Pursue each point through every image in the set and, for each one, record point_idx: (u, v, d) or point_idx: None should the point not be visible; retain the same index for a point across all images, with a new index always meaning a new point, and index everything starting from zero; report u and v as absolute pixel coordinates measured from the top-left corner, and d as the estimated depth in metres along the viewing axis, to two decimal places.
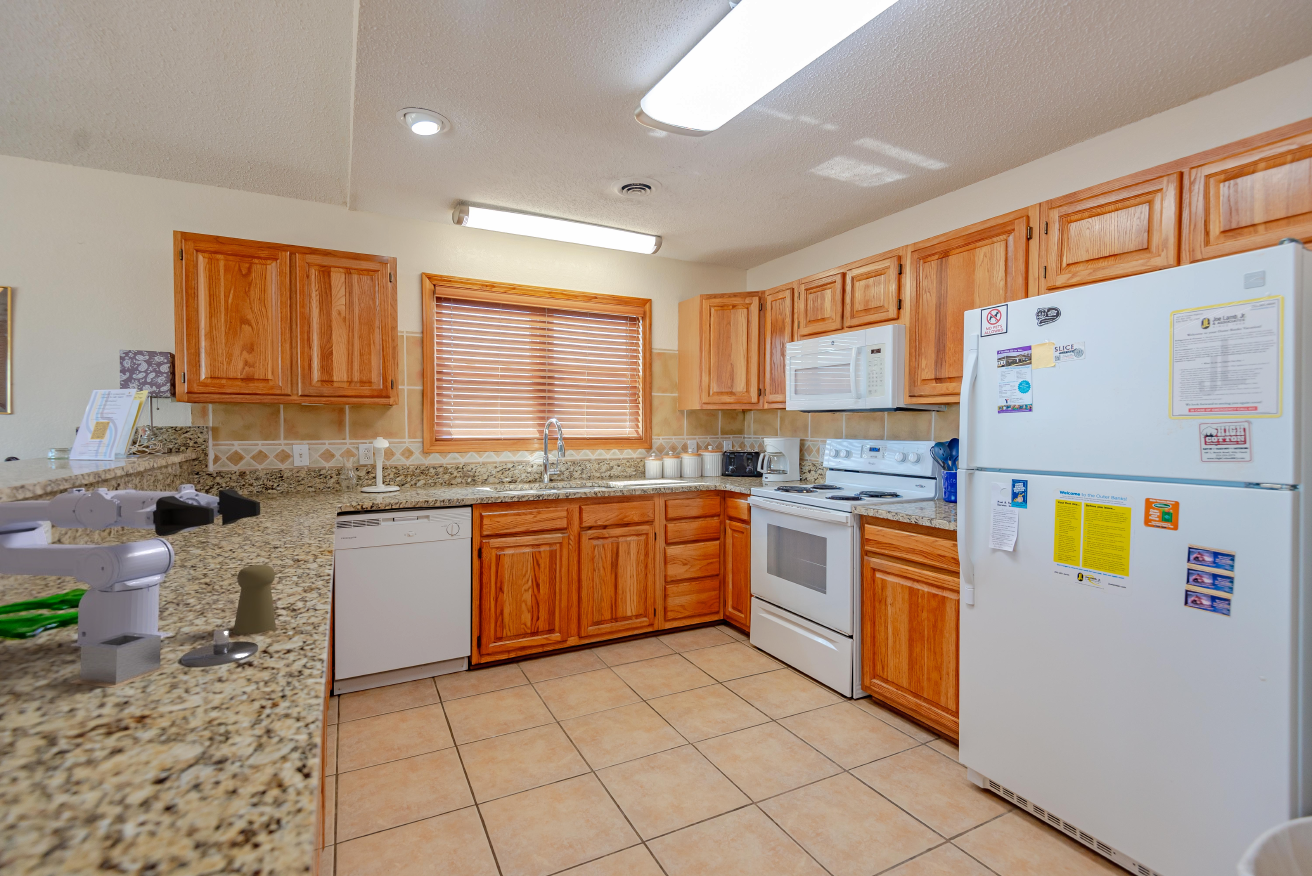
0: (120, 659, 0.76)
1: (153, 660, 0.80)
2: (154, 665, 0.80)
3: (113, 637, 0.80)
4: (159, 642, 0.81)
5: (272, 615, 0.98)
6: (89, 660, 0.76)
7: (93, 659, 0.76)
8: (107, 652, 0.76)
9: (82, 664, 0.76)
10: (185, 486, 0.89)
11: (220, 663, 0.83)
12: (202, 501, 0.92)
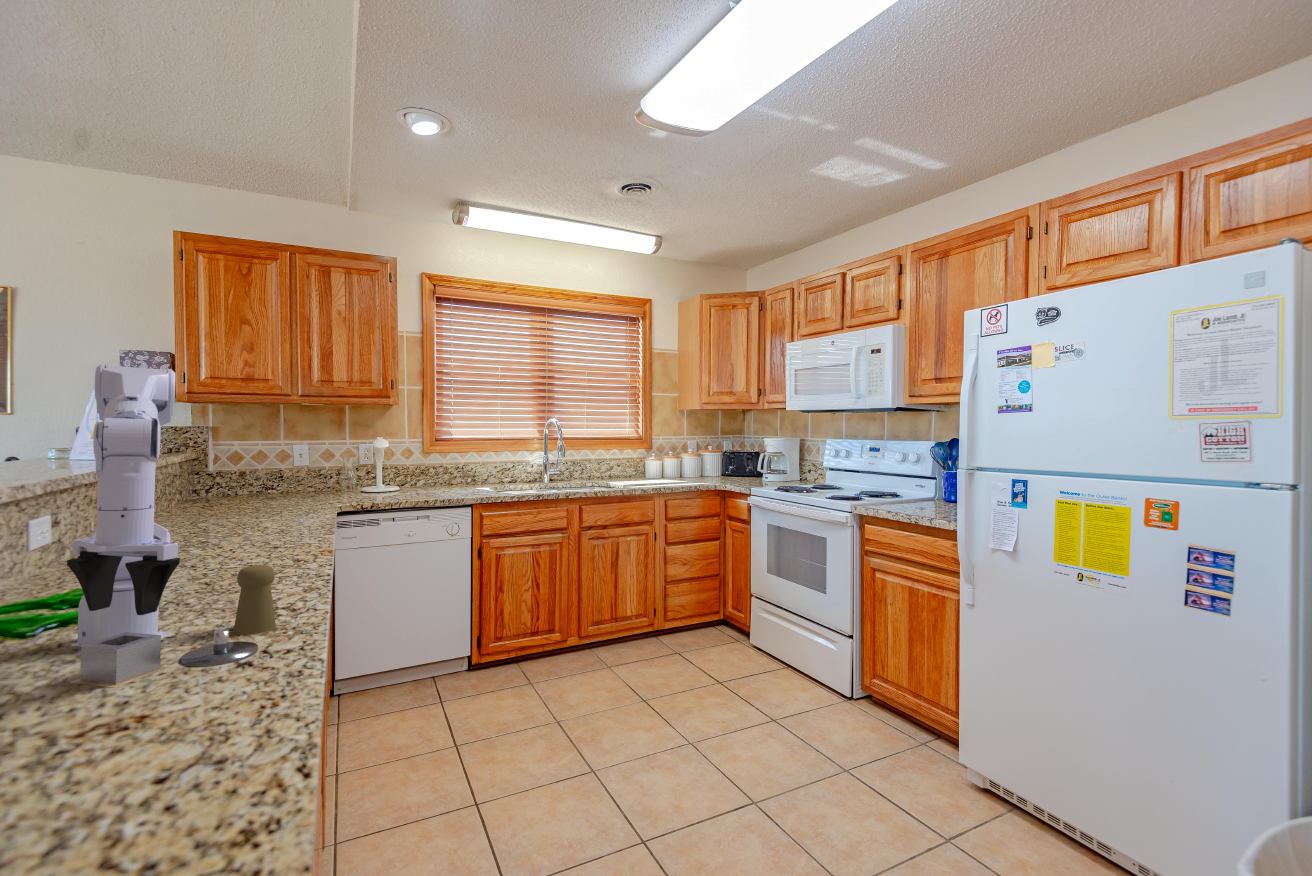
0: (120, 659, 0.76)
1: (153, 660, 0.80)
2: (154, 665, 0.80)
3: (113, 637, 0.80)
4: (159, 642, 0.81)
5: (272, 615, 0.98)
6: (89, 660, 0.76)
7: (93, 659, 0.76)
8: (107, 652, 0.76)
9: (82, 664, 0.76)
10: None
11: (220, 663, 0.83)
12: None
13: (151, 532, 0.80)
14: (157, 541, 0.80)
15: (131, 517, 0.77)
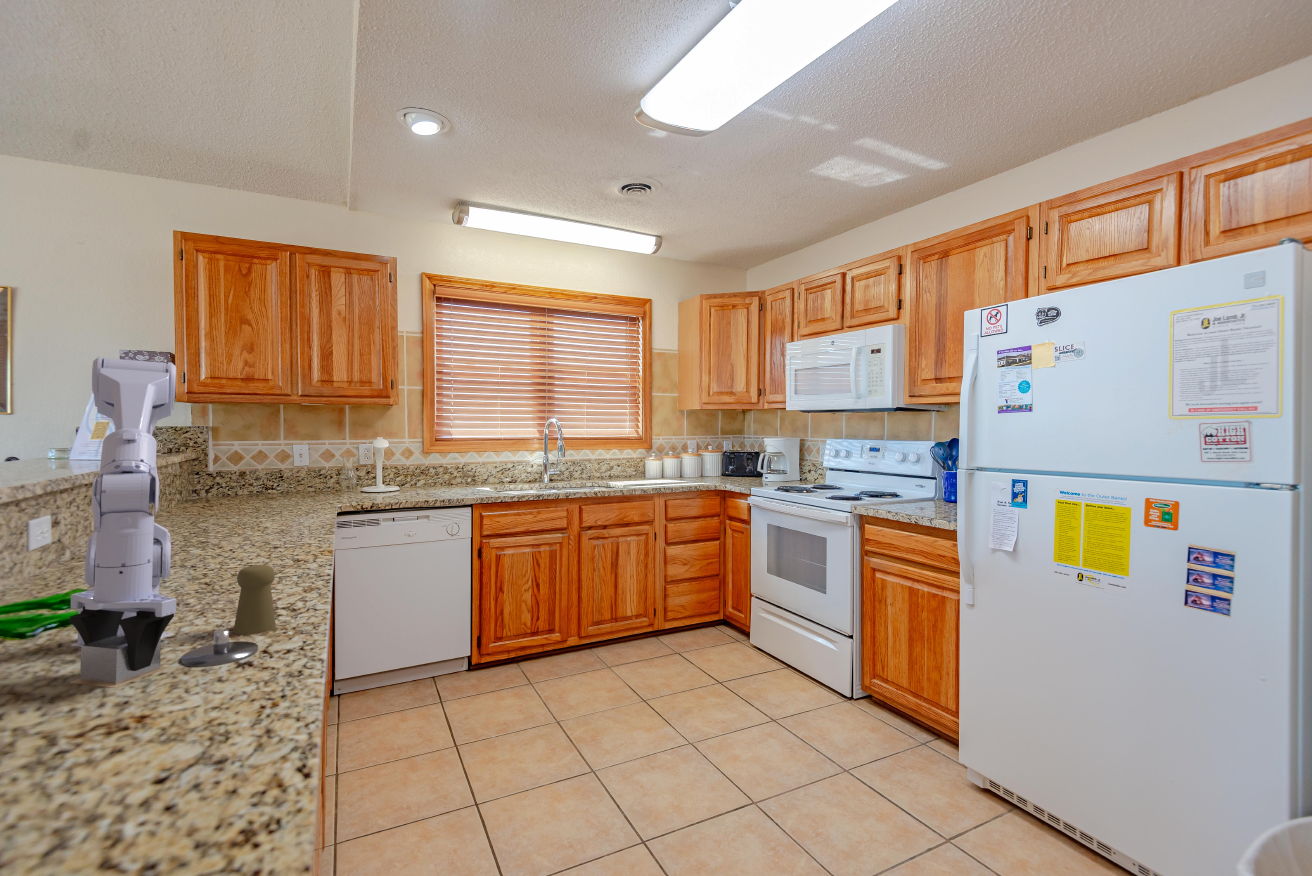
0: (120, 659, 0.76)
1: (153, 660, 0.80)
2: (154, 665, 0.80)
3: (113, 637, 0.80)
4: (159, 642, 0.81)
5: (272, 615, 0.98)
6: (89, 660, 0.76)
7: (93, 659, 0.76)
8: (107, 652, 0.76)
9: (82, 664, 0.76)
10: (89, 608, 0.75)
11: (220, 663, 0.83)
12: None
13: (149, 586, 0.79)
14: (155, 595, 0.80)
15: (129, 573, 0.77)
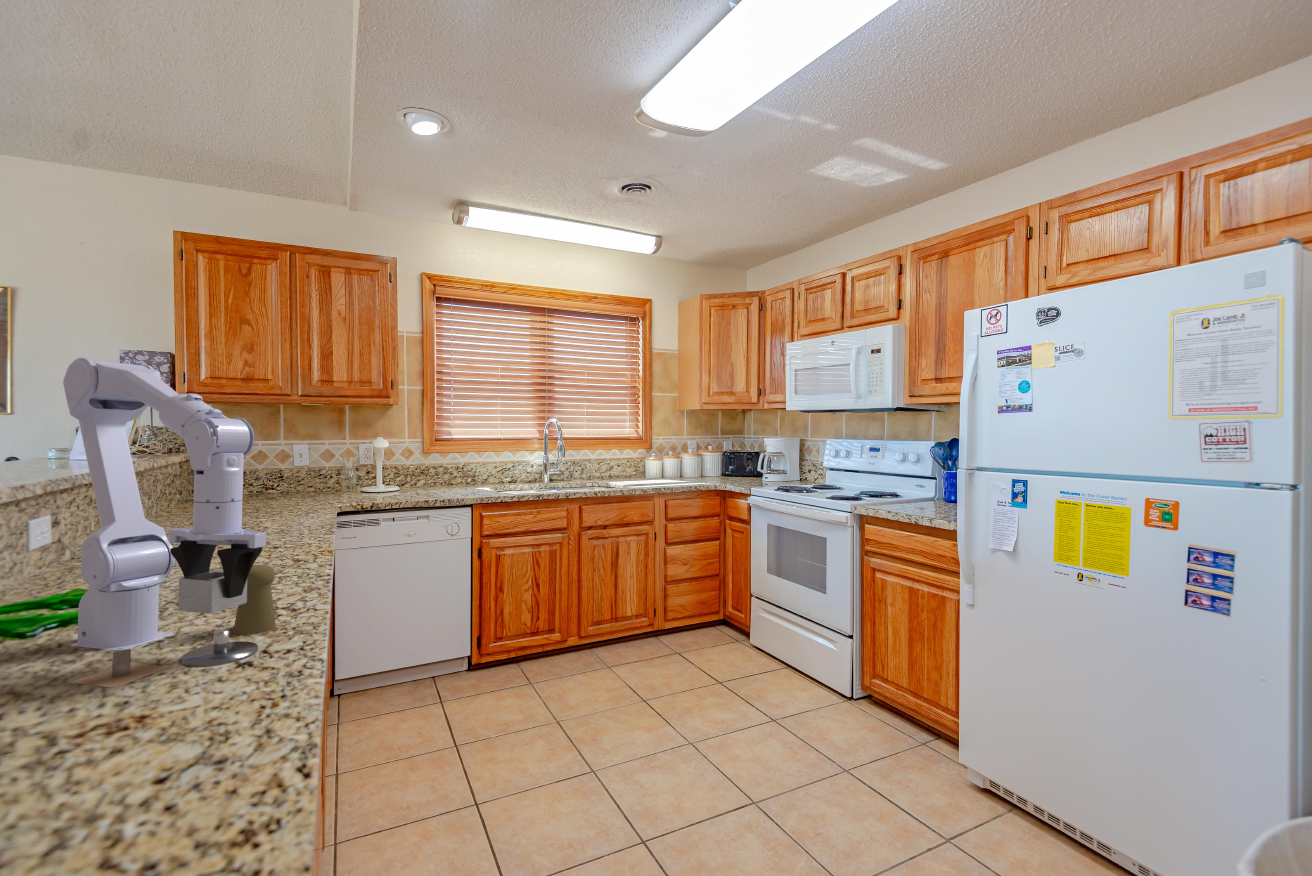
0: (215, 590, 0.83)
1: None
2: (242, 599, 0.87)
3: (205, 573, 0.86)
4: None
5: (272, 615, 0.98)
6: (186, 591, 0.83)
7: (190, 590, 0.83)
8: (203, 583, 0.82)
9: (180, 595, 0.83)
10: None
11: (220, 663, 0.83)
12: None
13: (240, 523, 0.87)
14: (245, 531, 0.87)
15: (225, 509, 0.84)
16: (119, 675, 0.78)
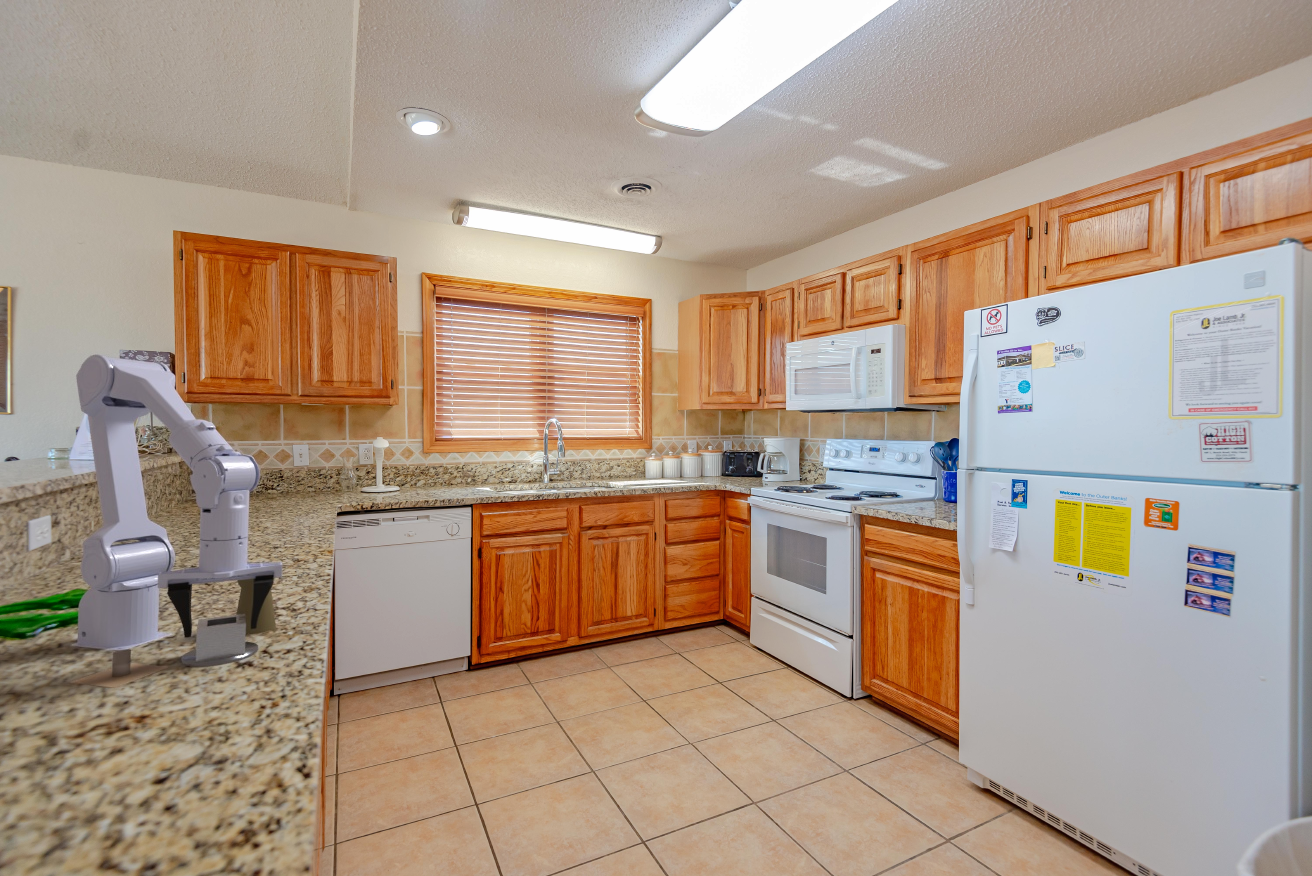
0: None
1: None
2: None
3: (203, 622, 0.85)
4: None
5: (272, 615, 0.98)
6: (208, 641, 0.83)
7: (214, 638, 0.83)
8: (233, 628, 0.85)
9: (199, 646, 0.82)
10: (219, 577, 0.83)
11: (220, 663, 0.83)
12: None
13: None
14: None
15: (245, 544, 0.87)
16: (119, 675, 0.78)
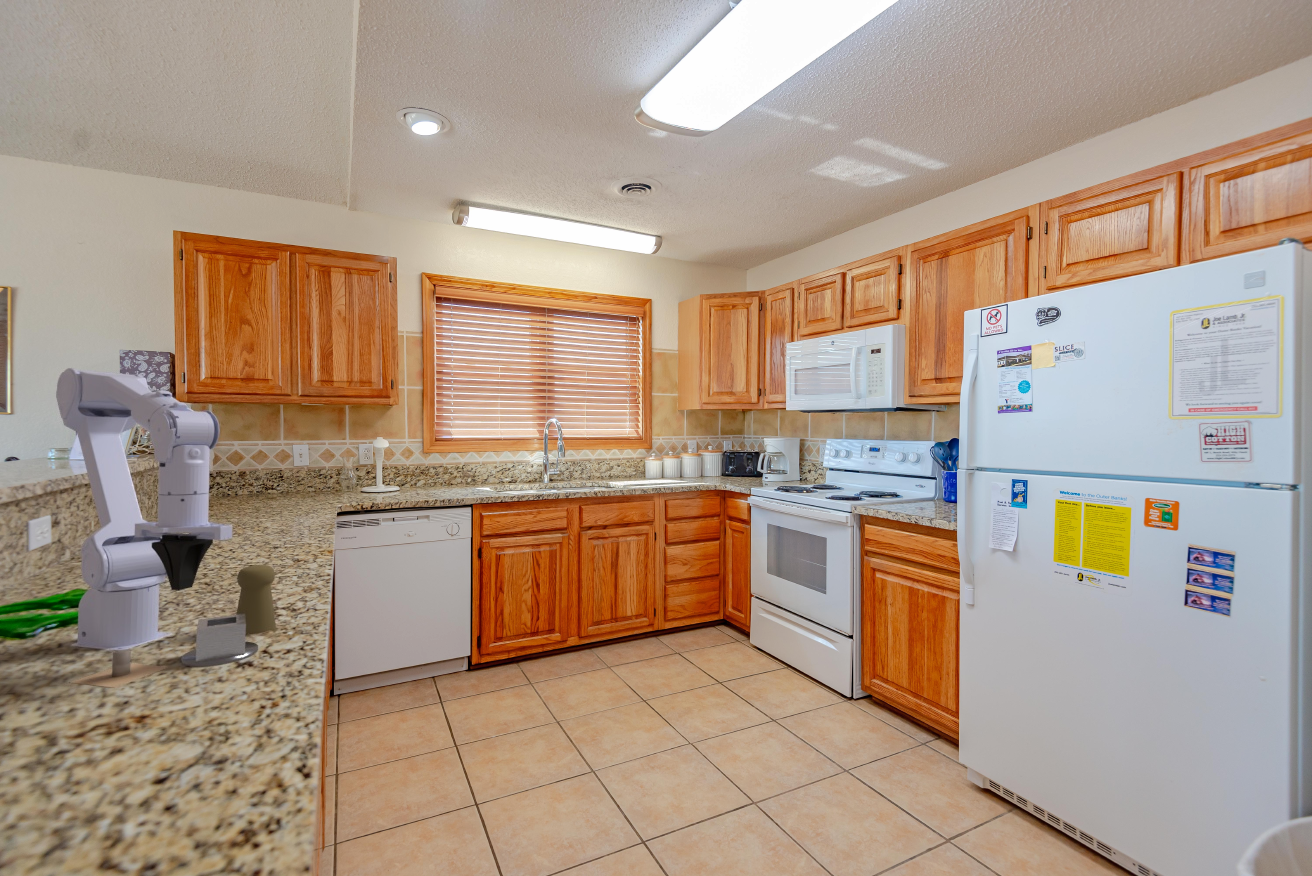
0: None
1: None
2: None
3: (203, 622, 0.85)
4: None
5: (272, 615, 0.98)
6: (208, 641, 0.83)
7: (214, 638, 0.83)
8: (233, 628, 0.85)
9: (199, 646, 0.82)
10: None
11: (220, 663, 0.83)
12: None
13: (207, 515, 0.86)
14: (212, 524, 0.87)
15: (190, 501, 0.84)
16: (119, 675, 0.78)
